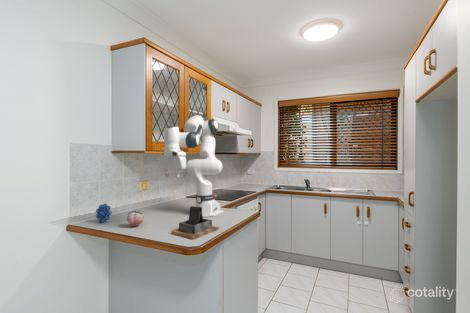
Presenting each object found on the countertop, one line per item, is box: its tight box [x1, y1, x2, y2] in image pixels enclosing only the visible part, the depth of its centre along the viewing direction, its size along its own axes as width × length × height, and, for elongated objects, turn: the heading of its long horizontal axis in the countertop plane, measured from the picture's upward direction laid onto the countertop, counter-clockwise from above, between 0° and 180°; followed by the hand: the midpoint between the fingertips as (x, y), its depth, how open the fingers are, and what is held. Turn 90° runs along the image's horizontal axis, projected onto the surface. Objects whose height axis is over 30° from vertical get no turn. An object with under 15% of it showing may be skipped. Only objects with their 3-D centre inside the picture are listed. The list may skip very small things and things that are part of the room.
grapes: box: [95, 203, 112, 223], centre depth 152 cm, size 12×7×12 cm, turn 73°
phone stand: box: [187, 205, 204, 225], centre depth 133 cm, size 9×6×12 cm, turn 162°
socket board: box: [171, 218, 220, 241], centre depth 133 cm, size 20×16×6 cm
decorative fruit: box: [126, 209, 145, 228], centre depth 143 cm, size 9×8×10 cm
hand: (172, 176), depth 142 cm, fingers open, 8 cm apart
